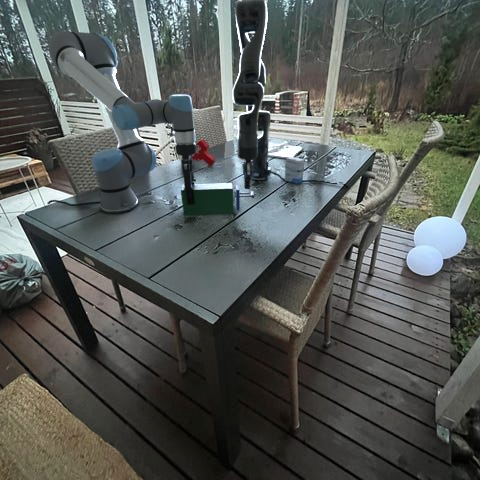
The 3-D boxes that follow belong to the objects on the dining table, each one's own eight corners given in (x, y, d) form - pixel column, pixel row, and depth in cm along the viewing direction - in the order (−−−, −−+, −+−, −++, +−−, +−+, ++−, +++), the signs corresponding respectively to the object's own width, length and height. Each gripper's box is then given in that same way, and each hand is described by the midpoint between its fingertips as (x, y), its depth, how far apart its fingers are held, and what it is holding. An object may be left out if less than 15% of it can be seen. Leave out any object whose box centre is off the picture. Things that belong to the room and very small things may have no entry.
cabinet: (232, 207, 118) (232, 182, 112) (233, 213, 113) (232, 188, 107) (185, 208, 117) (182, 184, 111) (183, 215, 112) (180, 190, 106)
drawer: (253, 205, 117) (253, 185, 112) (254, 210, 113) (254, 189, 108) (194, 207, 116) (191, 186, 111) (193, 212, 112) (190, 191, 107)
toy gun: (219, 159, 165) (203, 138, 161) (216, 161, 162) (200, 139, 158) (199, 174, 175) (184, 155, 171) (196, 176, 172) (181, 156, 168)
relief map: (291, 159, 177) (291, 151, 174) (243, 153, 190) (243, 145, 187) (302, 149, 197) (303, 142, 194) (258, 144, 211) (258, 137, 208)
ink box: (302, 181, 142) (305, 159, 136) (297, 184, 139) (300, 161, 133) (289, 177, 147) (291, 156, 141) (284, 180, 144) (285, 158, 138)
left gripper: (178, 137, 107) (185, 191, 119) (171, 149, 91) (179, 211, 103) (197, 136, 107) (202, 191, 120) (193, 149, 91) (199, 210, 104)
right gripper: (236, 140, 106) (237, 182, 115) (238, 148, 95) (238, 195, 104) (255, 140, 107) (254, 182, 116) (259, 148, 95) (258, 194, 105)
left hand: (191, 200), depth 112 cm, fingers closed on cabinet, 6 cm apart
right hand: (247, 188), depth 110 cm, fingers closed
